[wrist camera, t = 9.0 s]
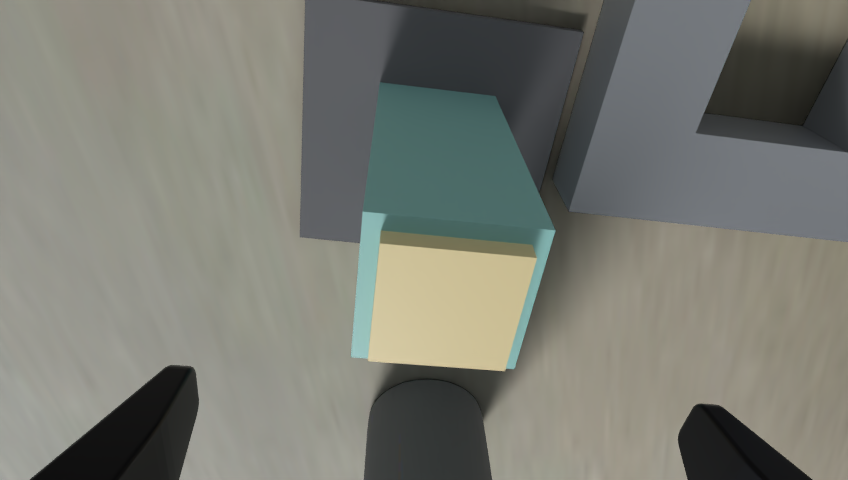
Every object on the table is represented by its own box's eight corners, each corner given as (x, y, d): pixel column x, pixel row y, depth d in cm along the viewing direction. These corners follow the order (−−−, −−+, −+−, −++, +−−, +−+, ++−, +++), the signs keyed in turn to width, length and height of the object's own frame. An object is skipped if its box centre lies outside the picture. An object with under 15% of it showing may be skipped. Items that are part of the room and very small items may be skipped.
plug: (495, 95, 19) (561, 242, 11) (475, 198, 21) (518, 384, 13) (379, 82, 19) (360, 224, 11) (370, 187, 21) (348, 372, 13)
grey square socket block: (1053, -142, 16) (1150, -148, 14) (837, 212, 22) (882, 245, 20) (665, -216, 15) (708, -234, 13) (552, 180, 21) (568, 211, 19)
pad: (580, 29, 18) (583, 32, 18) (519, 253, 23) (520, 259, 23) (307, -9, 18) (305, -7, 17) (301, 231, 22) (299, 237, 22)
